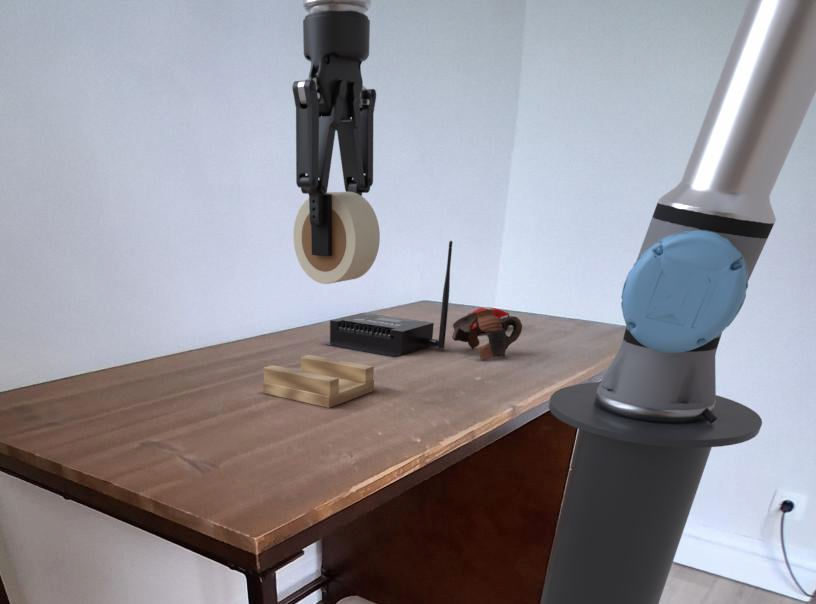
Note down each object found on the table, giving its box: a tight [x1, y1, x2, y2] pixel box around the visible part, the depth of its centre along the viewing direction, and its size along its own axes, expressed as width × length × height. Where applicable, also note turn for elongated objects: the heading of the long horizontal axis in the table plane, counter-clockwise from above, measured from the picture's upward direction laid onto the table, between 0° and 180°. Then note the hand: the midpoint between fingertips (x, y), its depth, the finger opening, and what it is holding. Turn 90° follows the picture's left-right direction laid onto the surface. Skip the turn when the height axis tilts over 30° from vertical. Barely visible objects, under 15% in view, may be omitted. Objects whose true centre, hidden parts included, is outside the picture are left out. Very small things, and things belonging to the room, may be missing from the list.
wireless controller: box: [325, 240, 453, 358], centre depth 119 cm, size 20×14×17 cm
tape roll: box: [292, 191, 381, 285], centre depth 87 cm, size 10×6×10 cm, turn 54°
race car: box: [467, 307, 510, 336], centre depth 135 cm, size 13×5×4 cm, turn 129°
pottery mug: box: [452, 309, 523, 361], centre depth 118 cm, size 12×10×8 cm
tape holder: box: [262, 354, 375, 409], centre depth 97 cm, size 12×11×4 cm
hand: (336, 252), depth 88 cm, fingers closed on tape roll, 6 cm apart
